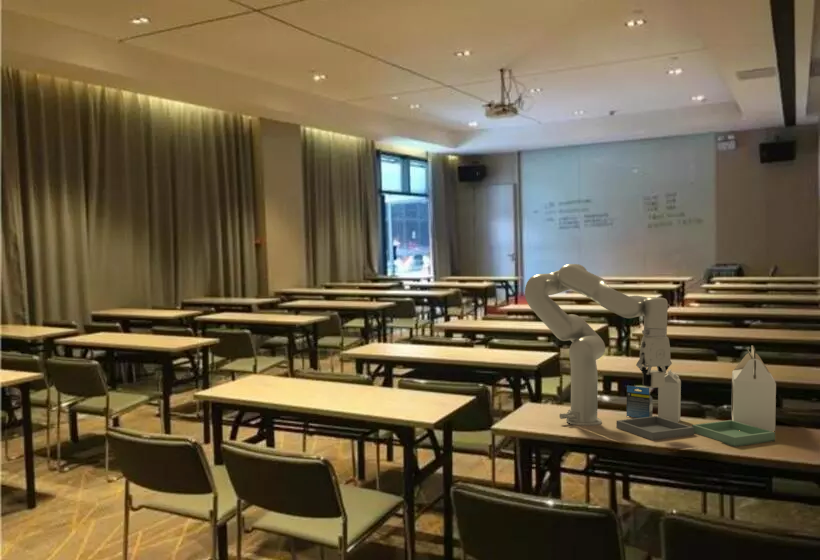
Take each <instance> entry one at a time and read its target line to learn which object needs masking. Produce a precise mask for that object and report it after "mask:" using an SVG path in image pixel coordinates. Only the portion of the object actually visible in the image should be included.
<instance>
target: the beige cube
mask: <svg viewBox="0 0 820 560" xmlns="http://www.w3.org/2000/svg"><path fill="white" fill-rule="evenodd" d="M649 375H651V386H646V385H644V387H645V386H646V387H647V388H652V389H655V388H658V387H664V383H665V375H666V373H665V372H661V371H658V370H655V369H651V371H650V374H649Z"/></svg>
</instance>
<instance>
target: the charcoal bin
mask: <svg viewBox="0 0 820 560" xmlns="http://www.w3.org/2000/svg"><path fill="white" fill-rule="evenodd" d="M615 424H616V429H618V430H622V431H625V432H627V433H631V434H633V435H637V436H639V437H642V438H643V439H644V438H645V439H647V440H650V441H658V440H666V439H672V438H673V439H674V438H680V437H687V436H694V435H695V433H694V427H692V425H691V426H690V425H687V424H684V423H681V422H679V423H678V422H675V421H671V420H668V419H665V418H661V417H658V415H654V416H653V415H652V417H643V418H637V417H633V418H627V419H618V420H616V422H615Z"/></svg>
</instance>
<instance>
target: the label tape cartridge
mask: <svg viewBox="0 0 820 560" xmlns="http://www.w3.org/2000/svg"><path fill="white" fill-rule="evenodd" d="M627 416H631V417H630V418H643V417H652V416H653V396H652V395H651V394H650V387H645V386H636V385H628V384H627V385H626V417H627Z"/></svg>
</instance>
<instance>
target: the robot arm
mask: <svg viewBox="0 0 820 560" xmlns="http://www.w3.org/2000/svg"><path fill="white" fill-rule="evenodd" d="M569 290H572V291H574V292H576V293H578V294H580V295H582V296H585V297H586V298H589V299H590V300H592V301H593V302H595V304H598V305H599V306H601V307H602V308H604V309H606V310H608V311H609V312H611V313H613V314H616V315H617V316H620V317H622V318H624V319H625V318H626V319H633V318H637V317H638V318H639V317H644V318H643V330H642V331H641V333H642V335H643V336H642V338H641V342H640V348H639V359H638V361H637V362H636V365H635V366H636V367H637V368H638V369H639V370H640V371H641V374H642V386H645V385H646V387H648V386H651V375H649V374H650V371H651V370H652V368H653V367H656V369H657V371H661V372H665V374H666V373H667V371H668V369H669V367H670V366H672V364H673V363H672V362H673V361H671V345H670V339H669V338H670V337H668V336H667V335H668V334H667V333H668V310H669V309H668V304H669V303H668V300H667V298H664V297H660V296H659V297H656V296H655V297H653V296H652V297H651V296H650V297H647V296H642V295H630V296H629V295H627V294H625V293H622V292H620V291H618V290H617V289H614V288H613V287H611V286H610V285H608V283H607V281H606V279H604V278H603V277H601V276H598V275H596V274H594V273H592V272H590V271H587V269H586V267H585V266H583V265H581V264H577V263H568V264H565V265H562V266H561V267H560V269H559V270H555V271H554V272H553V271H552V272H550V273H537V274H534V275H532V276H531V277H530V278H529V279H528V280H527V282H526V284H525V287H524V297H525V300H526V303H527V304H528V306H529V308H530V309H531V310H532V312H534V314H535V315H536V316H537V317H538V318H539V319H540V321H541V322H542V323H543V324H544V325H545V326H546V327H547V329H549V330H550V331H551V333H552V334H553V335H554V336H555V337H556V339H559V341H563V342H567V341H570V342H571V344H570V346H569V352H568V355H569V357H568V358H569V363H570V365H569V366H570V409H567V412H564V413H563V412H562V413H559V419H561V420H565V419H566V420H565V421H566V423H567V424H569V423H570V425H573V426H583V427H584V426H588V427H590V426H591V427H592V426H599V425H601V424H602V422H603V421H602V419H601V418H598V395H599V394H598V387H599V386H598V385H599V384H598V383H599V382H598V379H599V378H598V366H597V360H598V359H600V358H601V357H603V356H604V354H605V351H606V344H605V342H604V340H603V339H602V337H601V336H600V335H599V334H598V333H597V332H596V331H595V330H594V329H593V327H591V326H590V324H588V322H586V321H585V319H584V318H582V317H580V316H579V315H577V314H572V313H571V314H567V312H565V311H564V310H563V309H562V308H561V307H560V306H559V304H558V302H555V301H554V300H553V299H552V298H551V297H550V296H554V295H557V294H560V293H564V292H566V291H569Z"/></svg>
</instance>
